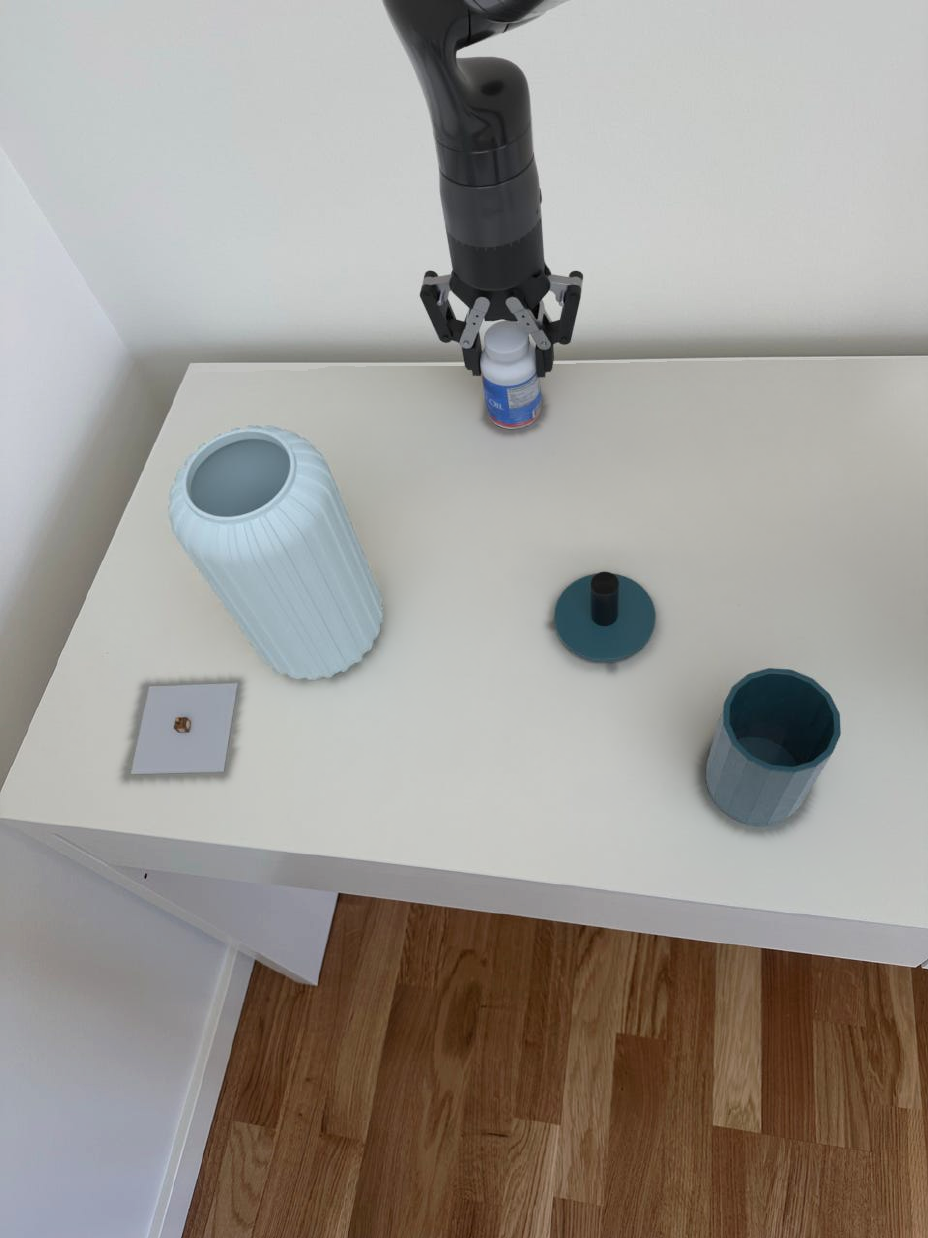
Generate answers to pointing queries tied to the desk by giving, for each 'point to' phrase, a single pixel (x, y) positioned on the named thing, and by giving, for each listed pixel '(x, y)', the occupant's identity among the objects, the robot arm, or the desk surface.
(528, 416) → the pill bottle
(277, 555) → the vase
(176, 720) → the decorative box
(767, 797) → the pot
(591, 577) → the lid
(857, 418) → the desk surface
